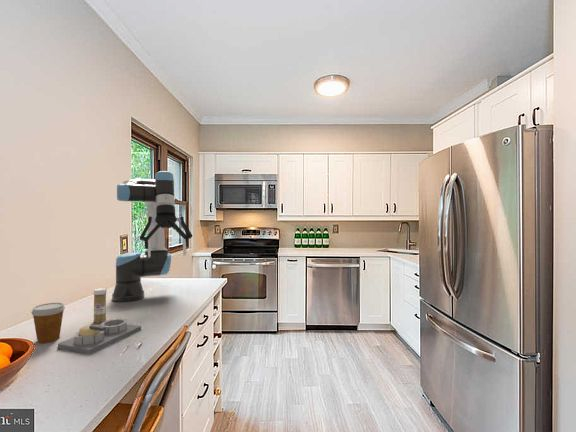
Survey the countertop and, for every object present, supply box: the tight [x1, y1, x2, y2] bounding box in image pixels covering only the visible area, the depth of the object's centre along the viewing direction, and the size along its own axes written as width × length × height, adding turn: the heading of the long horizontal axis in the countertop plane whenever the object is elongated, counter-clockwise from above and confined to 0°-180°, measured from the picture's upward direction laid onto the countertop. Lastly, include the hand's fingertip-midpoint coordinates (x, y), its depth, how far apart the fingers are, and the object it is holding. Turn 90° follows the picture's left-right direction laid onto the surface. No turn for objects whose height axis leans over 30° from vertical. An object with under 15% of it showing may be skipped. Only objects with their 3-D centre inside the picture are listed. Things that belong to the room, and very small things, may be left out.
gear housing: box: [57, 318, 142, 355], centre depth 113 cm, size 22×14×6 cm, turn 162°
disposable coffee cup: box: [30, 302, 66, 344], centre depth 112 cm, size 10×10×12 cm
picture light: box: [118, 338, 143, 357], centre depth 107 cm, size 14×4×2 cm, turn 7°
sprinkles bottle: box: [93, 287, 107, 324], centre depth 130 cm, size 5×5×14 cm
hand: (167, 255), depth 127 cm, fingers open, 13 cm apart
